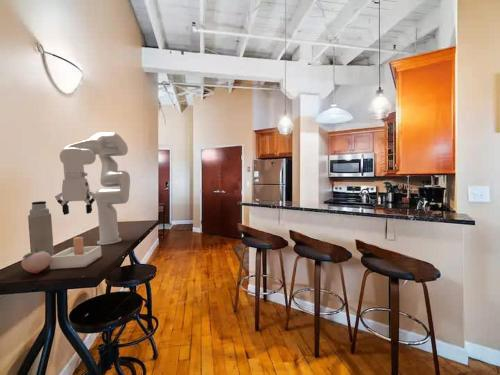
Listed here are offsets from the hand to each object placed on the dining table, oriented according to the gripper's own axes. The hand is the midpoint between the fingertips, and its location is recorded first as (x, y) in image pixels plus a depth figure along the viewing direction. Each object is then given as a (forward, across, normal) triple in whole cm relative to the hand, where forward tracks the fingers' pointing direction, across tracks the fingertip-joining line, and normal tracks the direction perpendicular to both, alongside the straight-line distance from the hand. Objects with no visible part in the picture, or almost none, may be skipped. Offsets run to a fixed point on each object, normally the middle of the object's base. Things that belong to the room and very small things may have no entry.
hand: (77, 213), depth 119 cm
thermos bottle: (+22, +14, +3) cm, 26 cm away
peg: (+20, 0, +3) cm, 21 cm away
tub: (+22, 0, +3) cm, 22 cm away
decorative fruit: (+21, +9, +15) cm, 27 cm away
